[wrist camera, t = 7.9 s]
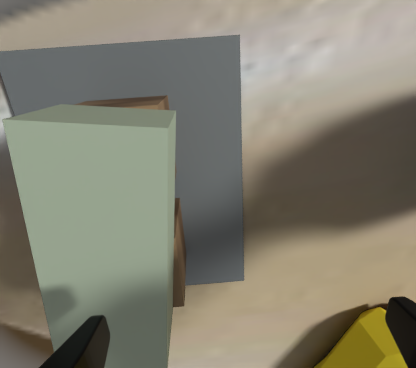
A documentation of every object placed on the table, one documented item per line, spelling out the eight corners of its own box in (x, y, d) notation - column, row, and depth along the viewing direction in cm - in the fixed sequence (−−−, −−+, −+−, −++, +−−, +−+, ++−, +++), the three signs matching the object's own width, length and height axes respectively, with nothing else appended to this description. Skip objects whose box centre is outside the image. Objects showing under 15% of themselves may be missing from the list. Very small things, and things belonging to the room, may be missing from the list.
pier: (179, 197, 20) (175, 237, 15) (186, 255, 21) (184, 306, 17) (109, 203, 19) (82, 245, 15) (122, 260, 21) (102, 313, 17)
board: (238, 36, 16) (239, 34, 16) (242, 275, 23) (244, 280, 23) (0, 52, 16) (-7, 51, 15) (77, 289, 23) (74, 294, 22)
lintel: (176, 110, 12) (168, 128, 9) (172, 309, 17) (166, 376, 13) (61, 104, 12) (2, 119, 8) (89, 308, 17) (59, 377, 13)
